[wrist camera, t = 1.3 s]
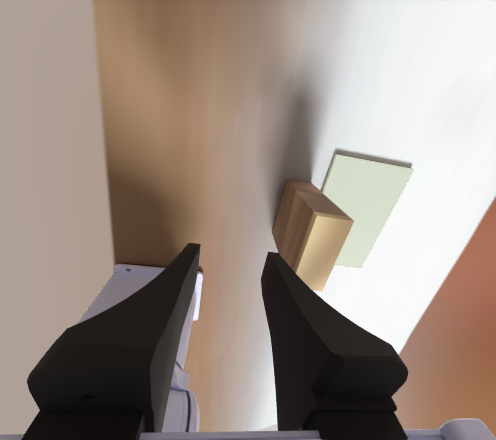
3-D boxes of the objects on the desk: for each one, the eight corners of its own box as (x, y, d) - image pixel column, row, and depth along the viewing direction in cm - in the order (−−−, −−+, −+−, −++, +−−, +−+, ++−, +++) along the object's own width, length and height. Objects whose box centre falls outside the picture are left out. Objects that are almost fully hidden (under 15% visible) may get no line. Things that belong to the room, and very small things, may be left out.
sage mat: (297, 258, 24) (298, 261, 24) (334, 153, 19) (336, 154, 19) (359, 265, 25) (361, 267, 25) (411, 168, 20) (414, 169, 20)
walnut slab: (272, 232, 22) (290, 288, 15) (286, 178, 20) (316, 215, 13) (294, 235, 23) (322, 291, 16) (311, 183, 20) (354, 221, 13)
